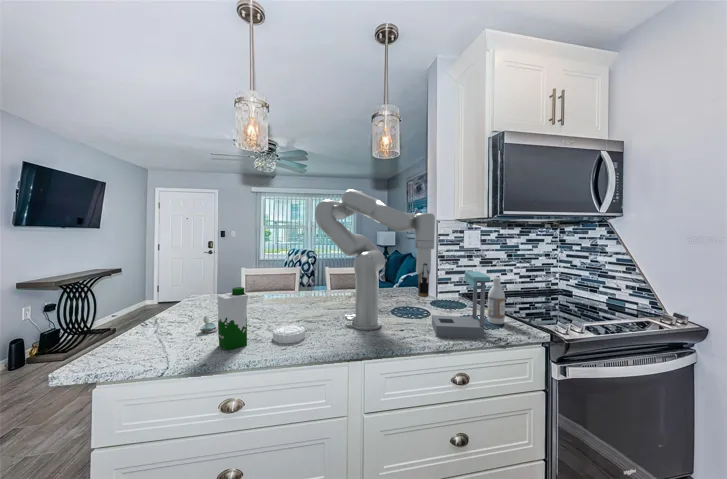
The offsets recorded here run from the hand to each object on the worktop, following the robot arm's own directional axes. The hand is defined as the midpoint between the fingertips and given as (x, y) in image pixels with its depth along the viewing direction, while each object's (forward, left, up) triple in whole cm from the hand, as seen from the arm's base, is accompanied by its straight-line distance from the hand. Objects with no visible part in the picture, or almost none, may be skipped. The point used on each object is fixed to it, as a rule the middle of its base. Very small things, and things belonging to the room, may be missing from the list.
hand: (423, 291), depth 120 cm
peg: (0, 0, -2) cm, 2 cm away
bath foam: (+34, +20, -17) cm, 43 cm away
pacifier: (-85, -6, -17) cm, 87 cm away
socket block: (+14, +6, -17) cm, 23 cm away
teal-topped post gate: (+22, +6, -17) cm, 28 cm away
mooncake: (-51, -9, -18) cm, 55 cm away
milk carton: (-68, -19, -17) cm, 73 cm away
